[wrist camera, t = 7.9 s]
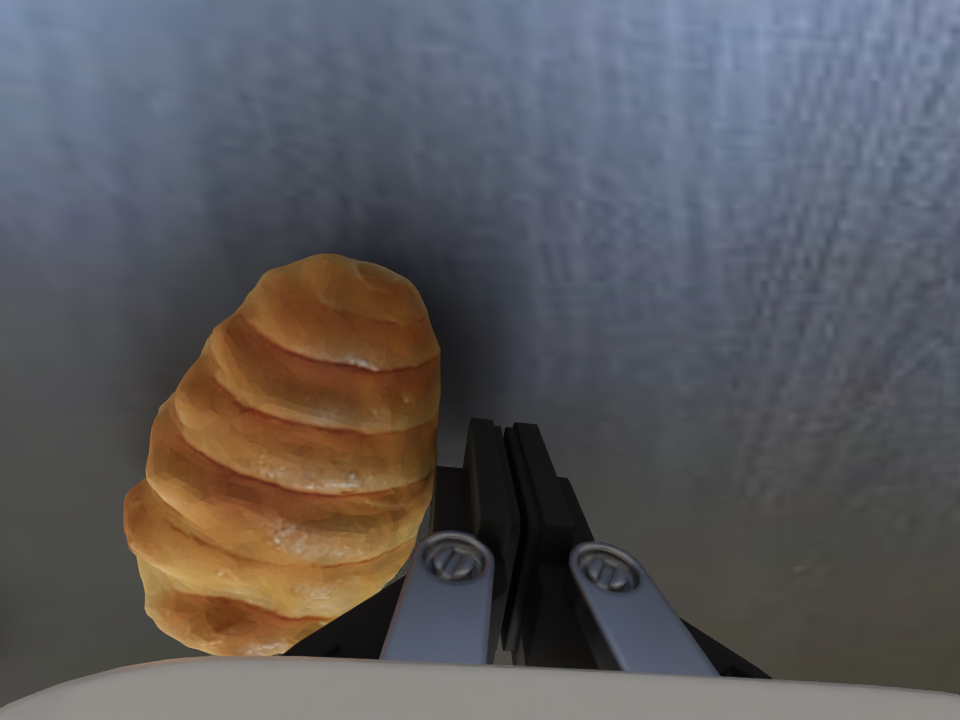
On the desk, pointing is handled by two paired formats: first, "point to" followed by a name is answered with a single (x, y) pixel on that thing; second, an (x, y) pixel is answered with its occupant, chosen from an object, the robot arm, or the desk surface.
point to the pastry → (290, 460)
